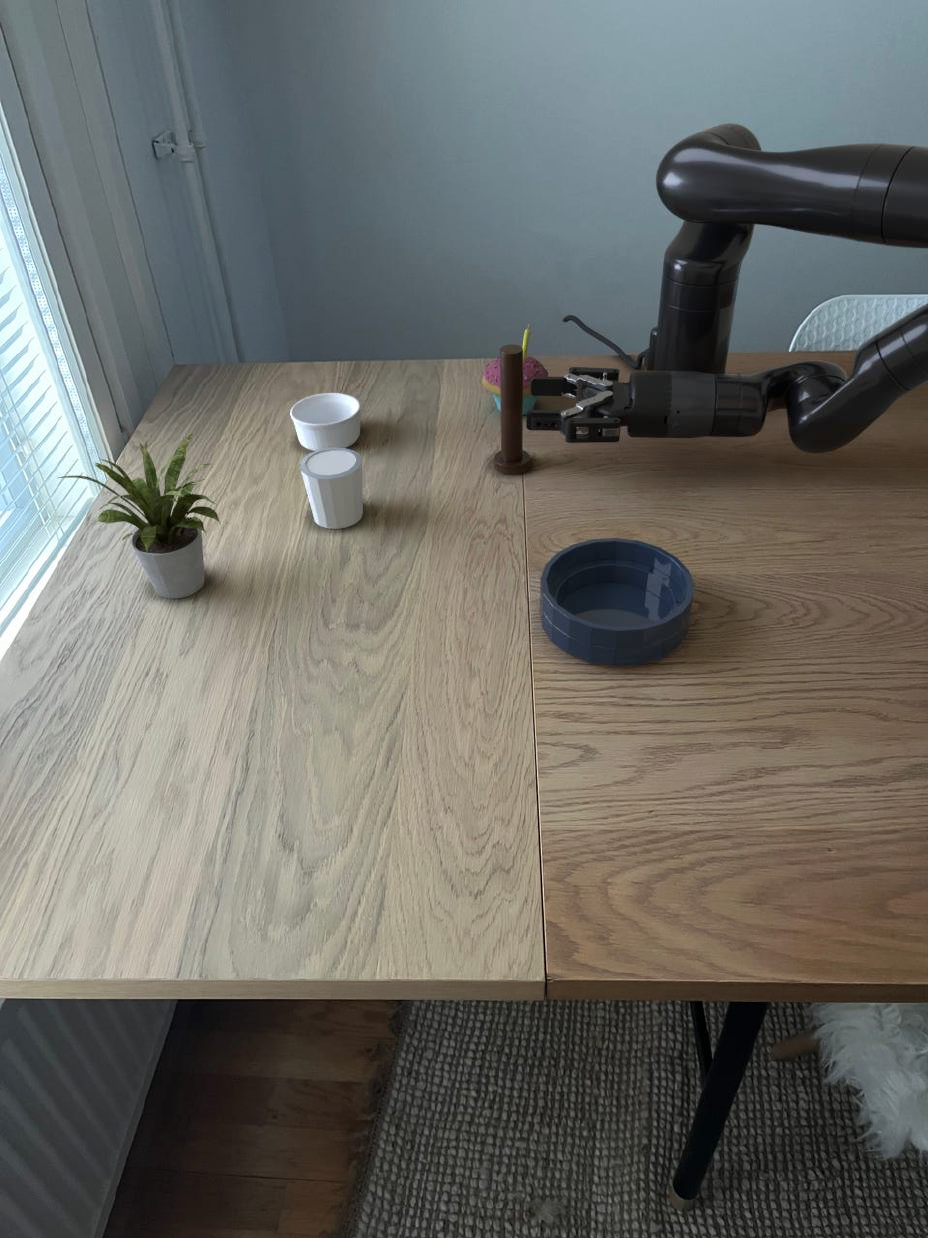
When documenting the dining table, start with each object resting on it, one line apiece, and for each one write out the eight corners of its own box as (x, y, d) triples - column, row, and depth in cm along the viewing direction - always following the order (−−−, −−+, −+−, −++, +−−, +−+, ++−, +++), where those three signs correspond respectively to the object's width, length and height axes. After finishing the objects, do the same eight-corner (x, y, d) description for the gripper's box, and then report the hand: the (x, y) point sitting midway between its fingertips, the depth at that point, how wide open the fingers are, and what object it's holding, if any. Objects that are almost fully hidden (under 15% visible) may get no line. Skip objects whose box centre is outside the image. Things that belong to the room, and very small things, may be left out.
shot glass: (377, 503, 110) (371, 450, 106) (353, 536, 105) (346, 482, 101) (324, 495, 112) (316, 442, 108) (297, 526, 107) (288, 473, 103)
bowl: (510, 617, 94) (510, 577, 90) (612, 560, 100) (615, 521, 97) (614, 693, 85) (618, 652, 82) (718, 626, 91) (725, 585, 88)
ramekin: (282, 449, 121) (277, 418, 118) (316, 417, 127) (311, 387, 124) (344, 460, 118) (340, 429, 115) (375, 427, 124) (372, 397, 122)
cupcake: (555, 399, 129) (558, 313, 121) (532, 428, 123) (533, 339, 115) (497, 389, 132) (496, 304, 124) (472, 417, 126) (469, 329, 118)
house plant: (107, 649, 92) (55, 507, 82) (90, 571, 102) (42, 436, 91) (251, 608, 96) (219, 468, 86) (222, 537, 106) (190, 404, 96)
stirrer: (486, 464, 116) (483, 348, 107) (513, 452, 118) (513, 337, 109) (510, 478, 113) (509, 360, 104) (537, 466, 115) (539, 349, 106)
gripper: (670, 347, 111) (532, 346, 113) (678, 403, 100) (525, 401, 102) (664, 405, 116) (531, 403, 118) (670, 465, 105) (524, 462, 107)
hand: (528, 402), depth 110 cm, fingers open, 8 cm apart
